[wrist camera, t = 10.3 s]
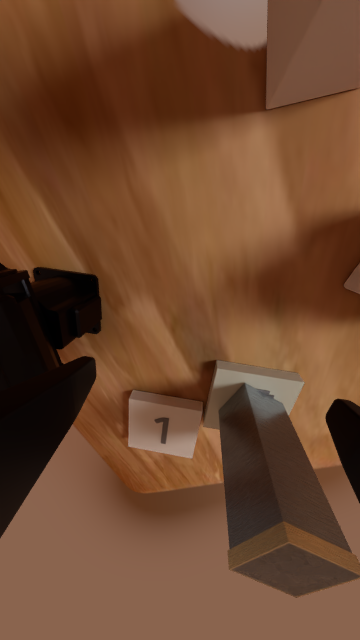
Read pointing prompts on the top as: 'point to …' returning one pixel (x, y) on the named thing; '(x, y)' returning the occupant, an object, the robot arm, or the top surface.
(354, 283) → the medicine bottle
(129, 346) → the top surface
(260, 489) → the tea tin
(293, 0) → the milk
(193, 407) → the tile
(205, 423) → the tile
